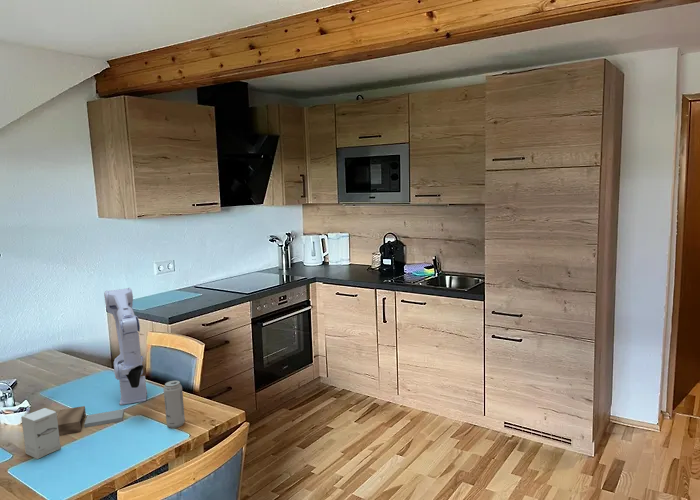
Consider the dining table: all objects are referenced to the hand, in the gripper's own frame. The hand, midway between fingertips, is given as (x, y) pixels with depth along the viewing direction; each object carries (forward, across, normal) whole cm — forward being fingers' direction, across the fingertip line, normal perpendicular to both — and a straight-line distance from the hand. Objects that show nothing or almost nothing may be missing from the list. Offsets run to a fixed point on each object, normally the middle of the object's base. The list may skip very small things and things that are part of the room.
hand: (135, 386), depth 186 cm
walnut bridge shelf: (+10, +7, -21) cm, 24 cm away
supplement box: (+11, +25, -20) cm, 34 cm away
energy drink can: (+11, +10, +17) cm, 22 cm away
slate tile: (+11, +3, -10) cm, 16 cm away
